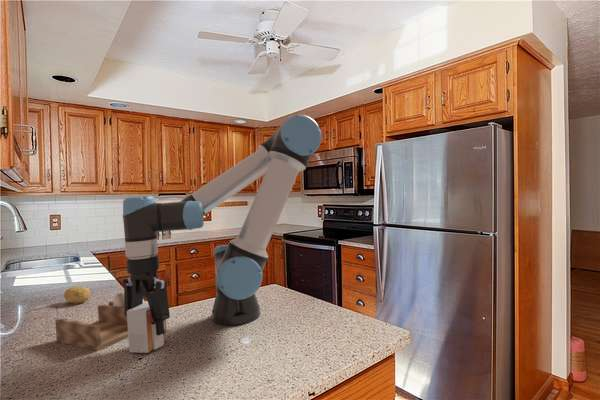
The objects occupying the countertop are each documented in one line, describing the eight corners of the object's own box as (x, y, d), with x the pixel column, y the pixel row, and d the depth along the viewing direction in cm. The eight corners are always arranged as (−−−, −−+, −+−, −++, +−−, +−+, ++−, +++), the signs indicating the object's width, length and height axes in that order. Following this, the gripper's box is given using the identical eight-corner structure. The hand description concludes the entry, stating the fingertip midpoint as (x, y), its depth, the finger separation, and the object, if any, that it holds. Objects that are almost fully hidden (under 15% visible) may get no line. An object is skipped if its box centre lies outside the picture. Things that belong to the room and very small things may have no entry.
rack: (160, 322, 102) (159, 289, 101) (97, 351, 84) (95, 311, 83) (122, 315, 109) (120, 285, 109) (56, 340, 91) (54, 304, 91)
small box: (148, 353, 80) (145, 311, 80) (128, 352, 81) (125, 311, 81) (167, 339, 88) (165, 300, 88) (149, 338, 89) (146, 300, 89)
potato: (76, 307, 121) (75, 290, 121) (59, 304, 126) (58, 288, 126) (94, 301, 127) (93, 285, 127) (77, 298, 132) (76, 283, 132)
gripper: (181, 254, 83) (187, 343, 83) (130, 252, 91) (135, 334, 92) (157, 260, 76) (164, 357, 77) (104, 258, 85) (110, 345, 85)
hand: (148, 344), depth 84 cm, fingers closed on small box, 6 cm apart
